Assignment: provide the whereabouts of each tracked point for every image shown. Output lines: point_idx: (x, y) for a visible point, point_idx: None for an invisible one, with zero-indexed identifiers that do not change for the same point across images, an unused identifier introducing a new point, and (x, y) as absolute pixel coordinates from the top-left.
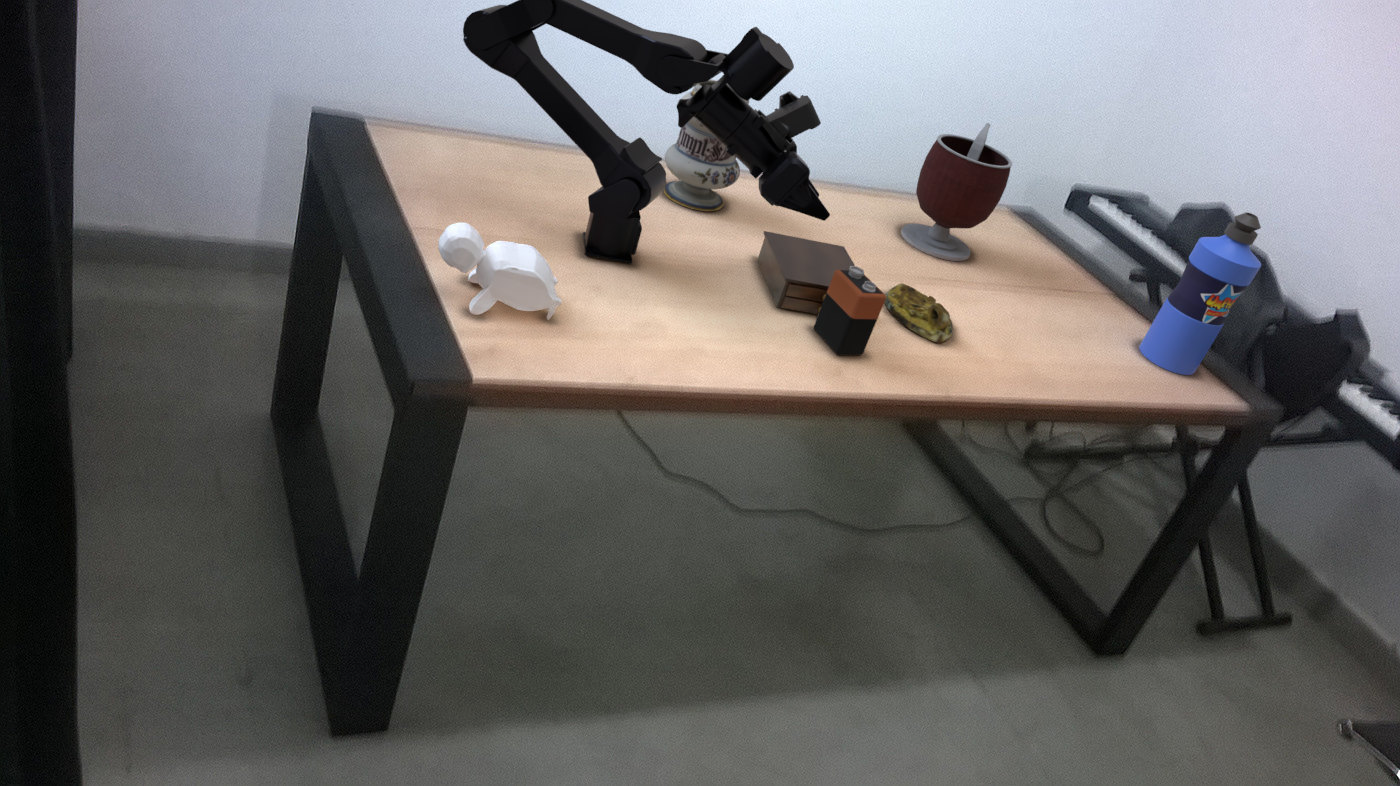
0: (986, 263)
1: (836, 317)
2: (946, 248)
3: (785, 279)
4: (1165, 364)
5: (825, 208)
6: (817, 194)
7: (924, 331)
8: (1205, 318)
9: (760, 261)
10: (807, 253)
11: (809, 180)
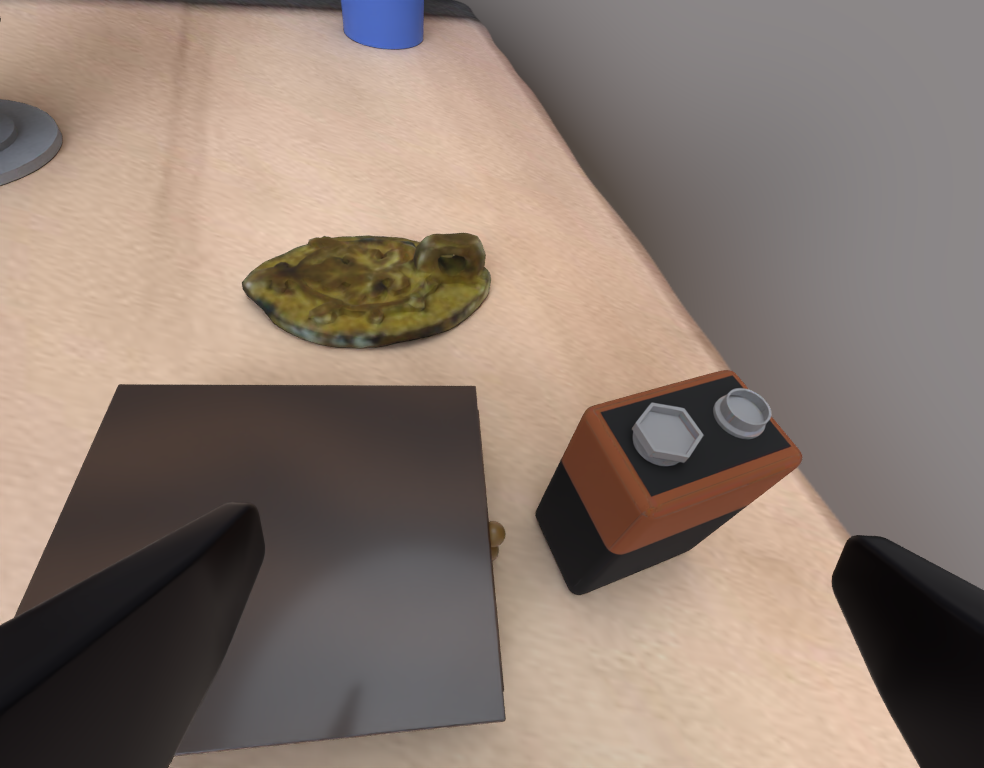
0: (72, 100)
1: (684, 538)
2: (11, 135)
3: (503, 719)
4: (414, 39)
5: (974, 586)
6: (247, 520)
7: (474, 303)
8: None
9: None
10: None
11: (130, 611)
